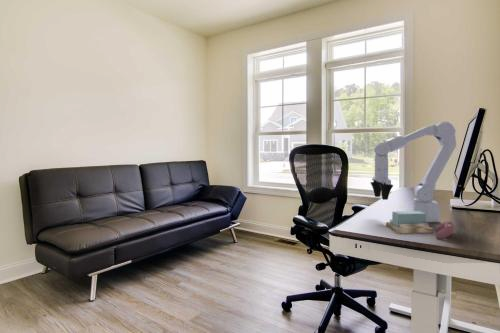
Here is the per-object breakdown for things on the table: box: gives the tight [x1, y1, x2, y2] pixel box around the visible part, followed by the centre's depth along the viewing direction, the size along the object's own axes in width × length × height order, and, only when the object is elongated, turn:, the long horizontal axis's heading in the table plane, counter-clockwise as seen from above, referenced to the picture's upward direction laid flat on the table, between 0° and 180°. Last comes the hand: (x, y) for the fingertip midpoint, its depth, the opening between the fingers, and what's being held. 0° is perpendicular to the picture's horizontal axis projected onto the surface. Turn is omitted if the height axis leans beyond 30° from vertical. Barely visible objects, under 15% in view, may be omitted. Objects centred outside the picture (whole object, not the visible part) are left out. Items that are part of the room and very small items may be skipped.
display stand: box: [385, 218, 434, 234], centre depth 119 cm, size 13×11×3 cm
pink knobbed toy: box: [434, 219, 456, 239], centre depth 109 cm, size 10×5×7 cm, turn 149°
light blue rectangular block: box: [391, 210, 427, 227], centre depth 119 cm, size 11×4×5 cm, turn 92°
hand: (381, 198), depth 138 cm, fingers open, 7 cm apart
